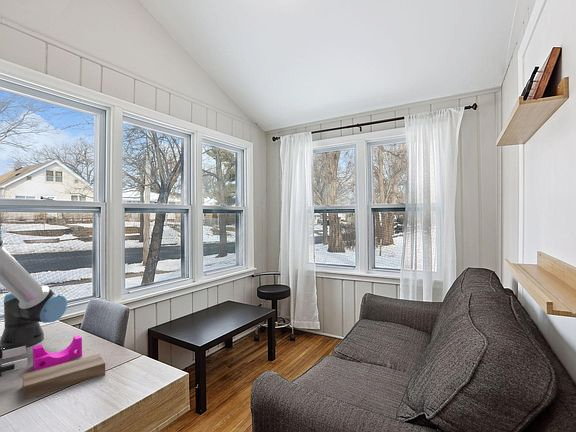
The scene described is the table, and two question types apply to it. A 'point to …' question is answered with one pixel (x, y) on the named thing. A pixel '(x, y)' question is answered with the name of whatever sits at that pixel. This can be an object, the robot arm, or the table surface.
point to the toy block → (56, 354)
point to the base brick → (62, 375)
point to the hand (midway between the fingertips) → (26, 355)
